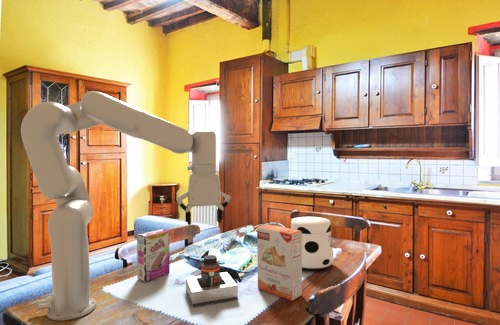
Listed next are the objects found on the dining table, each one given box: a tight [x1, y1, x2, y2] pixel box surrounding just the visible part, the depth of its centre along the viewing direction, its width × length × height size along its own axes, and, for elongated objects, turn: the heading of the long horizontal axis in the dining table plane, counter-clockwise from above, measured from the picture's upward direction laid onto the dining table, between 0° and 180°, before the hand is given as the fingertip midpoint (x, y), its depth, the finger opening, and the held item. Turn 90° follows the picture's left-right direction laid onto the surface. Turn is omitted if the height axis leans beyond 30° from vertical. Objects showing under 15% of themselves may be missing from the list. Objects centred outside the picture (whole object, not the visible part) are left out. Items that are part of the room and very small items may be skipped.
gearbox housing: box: [185, 271, 239, 308], centre depth 104 cm, size 14×12×4 cm
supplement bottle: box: [200, 254, 221, 288], centre depth 104 cm, size 6×6×11 cm
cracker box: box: [256, 224, 303, 302], centre depth 105 cm, size 14×6×21 cm, turn 47°
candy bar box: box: [136, 228, 170, 283], centre depth 120 cm, size 11×5×16 cm, turn 144°
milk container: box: [290, 216, 334, 271], centre depth 130 cm, size 17×17×18 cm
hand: (204, 223), depth 105 cm, fingers open, 9 cm apart
